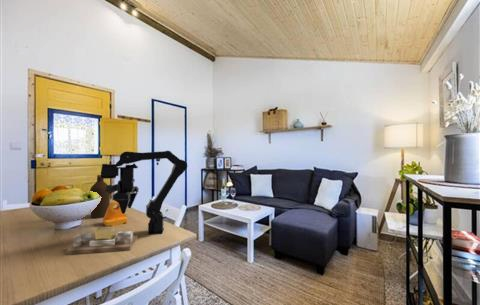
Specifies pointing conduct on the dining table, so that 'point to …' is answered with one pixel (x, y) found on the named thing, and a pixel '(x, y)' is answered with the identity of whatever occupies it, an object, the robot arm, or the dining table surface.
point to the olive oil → (105, 199)
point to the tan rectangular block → (105, 233)
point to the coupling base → (102, 243)
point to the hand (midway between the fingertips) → (126, 210)
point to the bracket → (114, 215)
